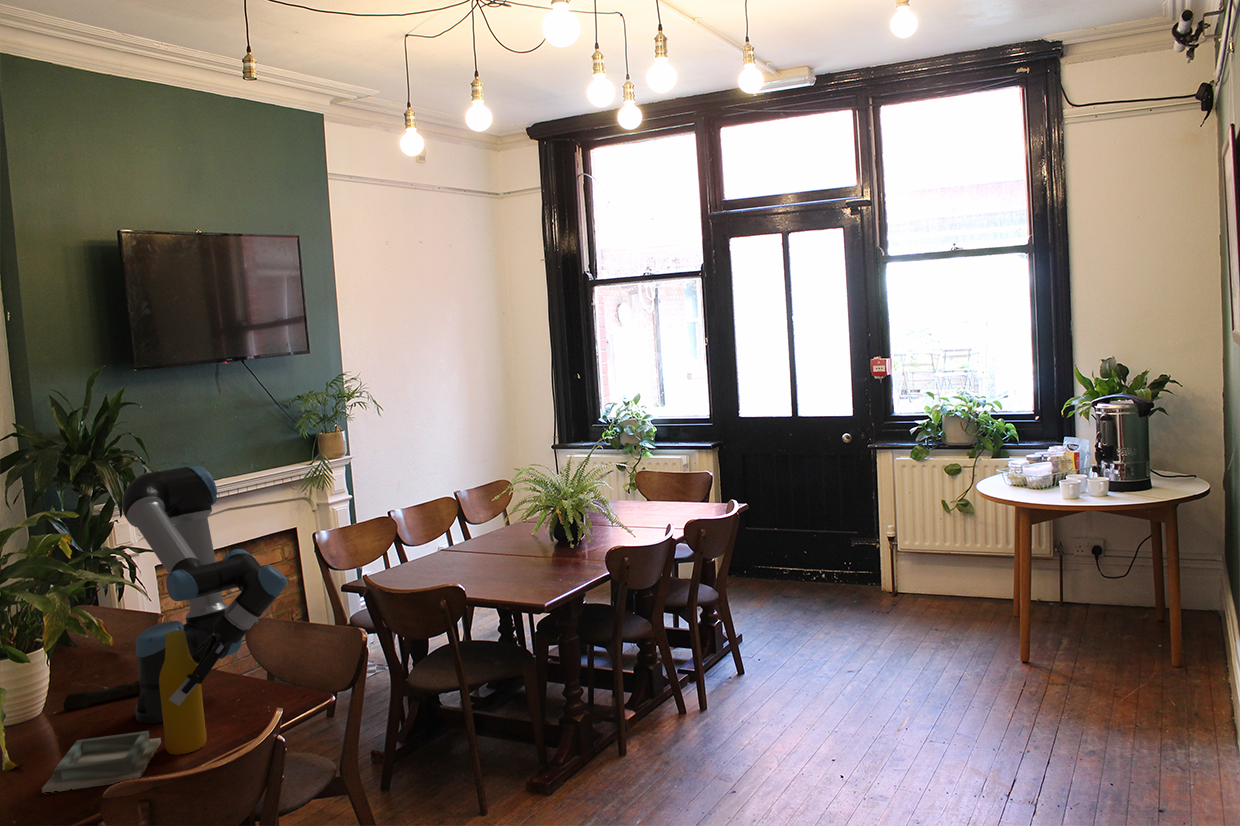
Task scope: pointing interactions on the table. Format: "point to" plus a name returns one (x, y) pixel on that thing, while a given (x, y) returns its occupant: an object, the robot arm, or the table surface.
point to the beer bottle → (187, 718)
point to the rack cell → (103, 761)
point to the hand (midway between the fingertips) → (174, 692)
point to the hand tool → (100, 695)
